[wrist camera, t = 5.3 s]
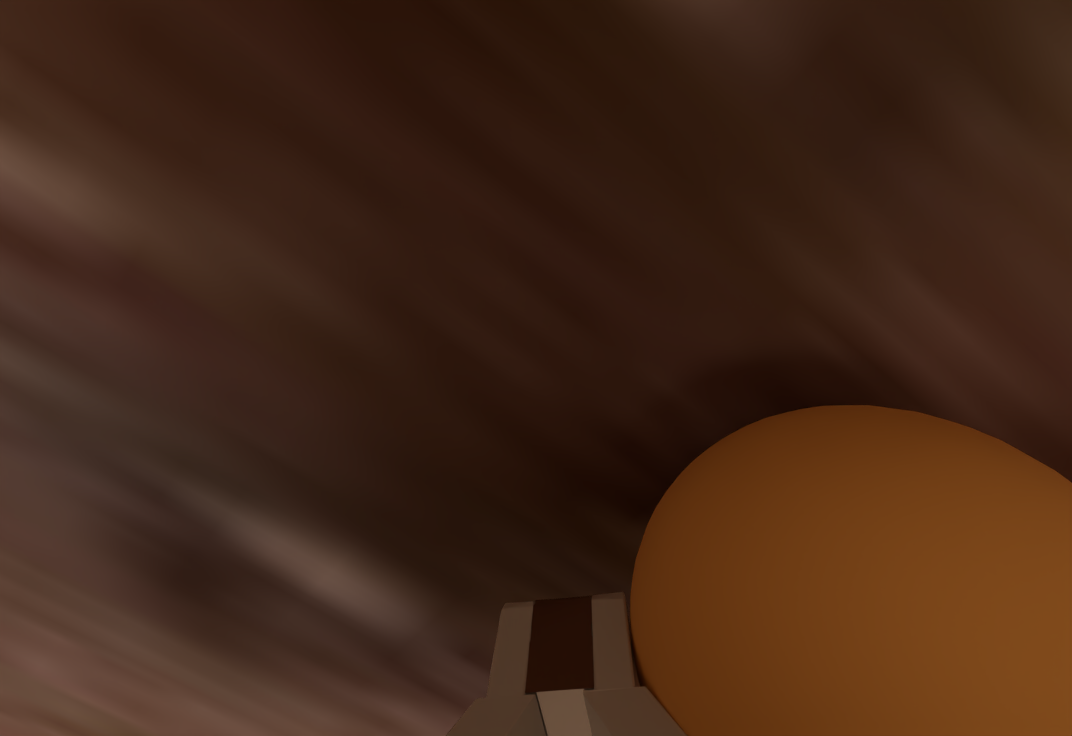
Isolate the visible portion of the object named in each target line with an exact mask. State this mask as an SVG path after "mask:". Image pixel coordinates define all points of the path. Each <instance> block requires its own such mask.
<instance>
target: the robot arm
mask: <svg viewBox="0 0 1072 736" xmlns="http://www.w3.org/2000/svg"><path fill="white" fill-rule="evenodd" d="M446 736H687V735H686V734H685V732H684V731H683V730H682V729H681V728H680V726H679V725H678V724H677V723H676V722H675V721H674V719H673V718H672V717H671V716H670V715H669V713H668V712H667V711H666V710H665V709H664V707H663V706H662V705H661V704H660V703H659V702H658V700H657V699H656V698H655V697H654V696H653V694H652V693H651V692H650V691H649V690H648V689H647V687H646V686H645V687H640V684H639V681H638V676H637V671H636V666H635V661H634V655H633V648H632V641H631V628H630V622H629V616H628V610H627V604H626V598H625V594H624V593H623V592H616V593H607V594H598V595H591V596H582V597H572V598H560V599H546V600H536V601H528V602H512V603H505V604H504V606H503V608H502V610H501V613H500V619H499V625H498V631H497V637H496V643H495V648H494V654H493V660H492V666H491V672H490V678H489V684H488V689H487V695H486V698H476V700H475V701H474V702H473V703H472V704H471V706H470V707H469V708H468V709H467V711H466V712H465V713H464V714H463V715H462V717H461V718H460V719H459V720H458V722H457V723H456V724H455V725H454V726H453V728H452V729H451V730H450V731H449V733H448V734H447V735H446Z"/></svg>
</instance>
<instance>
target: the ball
mask: <svg viewBox="0 0 1072 736" xmlns="http://www.w3.org/2000/svg"><path fill="white" fill-rule="evenodd" d="M630 628H631V641H632V648H633V655H634V661H635V666H636V671H637V676H638V681H639V684H640V687H645V686H646V687H647V689H648V690H649V691H650V692H651V693H652V694H653V696H654V697H655V698H656V699H657V700H658V702H659V703H660V704H661V705H662V706H663V707H664V709H665V710H666V711H667V712H668V713H669V715H670V716H671V717H672V718H673V719H674V721H675V722H676V723H677V724H678V725H679V726H680V728H681V729H682V730H683V731H684V732H685V734H686V735H687V736H1072V482H1070V481H1069V480H1067V479H1066V478H1065V477H1063V476H1062V475H1061V474H1059V473H1058V472H1057V471H1055V470H1054V469H1052V468H1050V467H1048V466H1046V465H1045V464H1043V463H1041V462H1039V461H1038V460H1036V459H1034V458H1032V457H1031V456H1029V455H1027V454H1025V453H1024V452H1022V451H1020V450H1018V449H1016V448H1015V447H1013V446H1011V445H1009V444H1007V443H1005V442H1004V441H1002V440H999V439H997V438H995V437H992V436H990V435H987V434H985V433H983V432H980V431H978V430H975V429H973V428H971V427H968V426H965V425H962V424H958V423H955V422H952V421H949V420H946V419H942V418H938V417H935V416H931V415H927V414H924V413H920V412H916V411H909V410H901V409H894V408H887V407H879V406H872V405H831V406H818V407H811V408H804V409H799V410H794V411H790V412H785V413H781V414H778V415H774V416H770V417H767V418H764V419H762V420H759V421H757V422H754V423H751V424H749V425H747V426H745V427H743V428H741V429H739V430H737V431H735V432H733V433H731V434H729V435H728V436H726V437H724V438H723V439H721V440H720V441H718V442H717V443H715V444H714V445H712V446H711V447H709V448H708V449H707V450H705V451H704V452H703V453H702V454H700V455H699V456H698V457H697V458H696V459H694V460H693V461H692V462H691V463H690V464H689V465H688V466H687V467H686V468H685V469H684V470H683V471H682V472H681V474H680V475H679V476H678V477H677V479H676V480H675V481H674V482H673V483H672V485H671V486H670V487H669V488H668V490H667V491H666V492H665V494H664V495H663V497H662V499H661V500H660V502H659V503H658V505H657V506H656V508H655V510H654V512H653V514H652V516H651V518H650V520H649V522H648V524H647V527H646V530H645V533H644V536H643V539H642V542H641V544H640V547H639V550H638V553H637V556H636V561H635V566H634V572H633V578H632V586H631V594H630Z"/></svg>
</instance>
